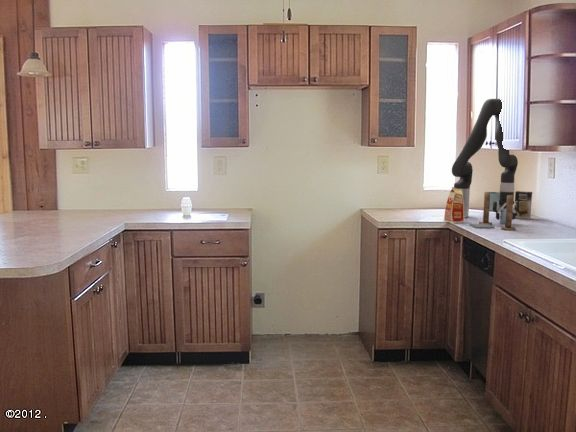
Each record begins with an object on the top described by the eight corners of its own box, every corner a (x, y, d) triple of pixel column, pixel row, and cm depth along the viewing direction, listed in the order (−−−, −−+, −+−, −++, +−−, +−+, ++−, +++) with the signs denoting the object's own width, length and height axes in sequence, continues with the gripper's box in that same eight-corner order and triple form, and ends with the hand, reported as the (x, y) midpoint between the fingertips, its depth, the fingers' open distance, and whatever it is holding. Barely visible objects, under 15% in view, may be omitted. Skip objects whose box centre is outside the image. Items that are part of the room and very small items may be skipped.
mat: (469, 225, 309) (469, 223, 309) (487, 225, 310) (487, 223, 310) (476, 228, 300) (476, 226, 299) (494, 228, 300) (494, 226, 300)
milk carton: (451, 223, 318) (453, 187, 315) (443, 220, 326) (444, 186, 324) (466, 222, 320) (467, 187, 317) (457, 220, 329) (458, 185, 326)
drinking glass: (501, 210, 370) (502, 192, 368) (498, 212, 362) (499, 193, 360) (485, 209, 375) (486, 191, 374) (482, 211, 367) (483, 192, 365)
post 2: (498, 228, 300) (500, 194, 298) (511, 228, 300) (514, 194, 298) (504, 230, 293) (506, 196, 291) (517, 230, 294) (519, 196, 291)
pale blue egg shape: (498, 222, 319) (498, 208, 317) (507, 222, 319) (508, 208, 318) (501, 224, 313) (502, 210, 312) (511, 224, 313) (512, 210, 312)
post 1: (477, 223, 316) (478, 191, 313) (489, 223, 316) (491, 191, 314) (481, 225, 309) (483, 192, 306) (494, 225, 309) (496, 192, 307)
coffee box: (513, 218, 334) (514, 191, 332) (514, 217, 340) (516, 190, 338) (529, 219, 330) (531, 192, 328) (530, 218, 336) (532, 191, 333)
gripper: (516, 190, 317) (515, 218, 319) (491, 190, 317) (490, 218, 319) (522, 191, 309) (520, 220, 312) (496, 191, 309) (495, 220, 311)
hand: (505, 219), depth 315 cm, fingers open, 8 cm apart
